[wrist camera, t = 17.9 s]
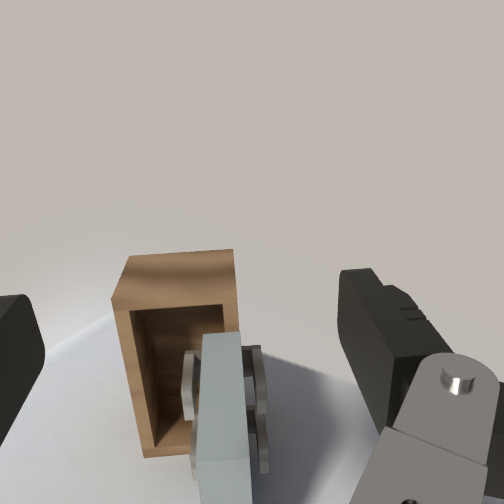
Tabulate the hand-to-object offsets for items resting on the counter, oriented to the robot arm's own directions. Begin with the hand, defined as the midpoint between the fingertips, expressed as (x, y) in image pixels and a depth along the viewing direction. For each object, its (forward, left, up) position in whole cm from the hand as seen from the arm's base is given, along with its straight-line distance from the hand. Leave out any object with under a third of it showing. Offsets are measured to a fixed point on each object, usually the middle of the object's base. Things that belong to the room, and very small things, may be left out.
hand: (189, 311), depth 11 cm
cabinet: (-11, -20, -29) cm, 37 cm away
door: (-8, -11, -29) cm, 32 cm away
